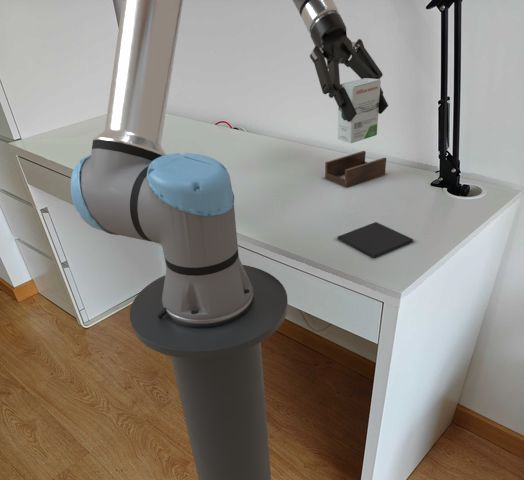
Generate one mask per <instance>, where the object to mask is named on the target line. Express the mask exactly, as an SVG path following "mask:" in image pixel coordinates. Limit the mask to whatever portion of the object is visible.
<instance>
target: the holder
mask: <svg viewBox="0 0 524 480" xmlns="http://www.w3.org/2000/svg"><path fill="white" fill-rule="evenodd" d="M366 153H367V152H366V150H362V151H359V152H354V153H351V154H348V155H345V156H341V157H337V158H334V159H331V160H328V161H325V163H324V164H325V165H324V179H326V180H328V181H329V182H333V183H335V184H337V185H340V186H342V187H344V188H350V187H352V186H355V185H358V184H361V183H364V182H368V181H370V180H373V179H376V178H379V177H382V176H385V174H386V167H387V158H386V157H382V158H378V159H375V160H371V161H366ZM341 175H344V178H343V177H341Z"/></svg>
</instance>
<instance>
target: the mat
mask: <svg viewBox="0 0 524 480" xmlns="http://www.w3.org/2000/svg"><path fill="white" fill-rule="evenodd" d="M337 240H338V241H340V242H342V243H344V244H346V245H347V246H350V247H352V248H354V249H356V250H357V251H359V252H361V253H363V254H365V255H367V256H369V257H370V258H372V259H376V258H378V257H380V256H383V255H385V254H387V253H390V252H392V251H394V250H397V249H399V248H401V247H404V246H407V245H409V244H411V243H413V241H414V238H412V237H409V236H407V235H405V234H403V233H400V232H398V231H396V230H394V229H392V228H390V227H388V226H386V225H383V224H381V223H379V222H377V221H374V222H371V223H370V224H367V225H364V226H362V227H358V228H357V229H354V230H351V231H348V232H346V233H342V234H341V235H337Z"/></svg>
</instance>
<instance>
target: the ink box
mask: <svg viewBox="0 0 524 480" xmlns="http://www.w3.org/2000/svg"><path fill="white" fill-rule="evenodd" d="M381 82H382V81H381V80H380V79H371V78H364V79H361V78H360V79H355V80H352V81H348V82H347V81H346V82H344V83H340V89H341V88H342V87H344V88H345V90H346V92H347V94H348V96H349V98H350V100H351V102H352V104H353V106H354V108H355V111H356V113H357V114H356V115H355V117H354V118H353V119H352V120H351V121H350V122H348V121H347V119H346V117H345V115H344V113H343V111H342V109H341V107H339V106H338V111H337V140H339V141H343V142H346V143H349V144H354V143H357V142H360V141H363V140H366V139H369V138H372V137H375V136H377V135H378V124H379V113H378V111H379V98H380V87H381V84H382V83H381Z"/></svg>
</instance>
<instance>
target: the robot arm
mask: <svg viewBox="0 0 524 480" xmlns="http://www.w3.org/2000/svg"><path fill="white" fill-rule="evenodd" d="M292 2H293V4H294V7H296V9H297V11H298V13H299V15H300V18H301V21H302V22H303V23H304V24H303V25H305V29H306V30H307V32H308V33H309V35H310V38H311V40H312V43H313V44H314V48H313V49H312V50H311V53H310V54H309V58H310V60H311V61H312V63H313V64H314V68H315V71H316V75H317V78H318V81H319V86H320V89H321V92H322V94H323V95H328V97H329V98H330V99H332V98H334V101H335V103H336V105H337V107H338V108H339V107H341V109H342V111H343V113H344V115H345V117H346V119H347V121H348V122H350V121H351V120H352V119H353V118H354V117H355V115H356V114H357V113H356V111H355V108H354V106H353V104H352V102H351V100H350V98H349V96H348V94H347V92H346V90H345V88H344V87H342V88H341V89H340V84H341V77H340V64H341V65H344V66H345V67H347V68H350V69H351V70H352V71H353V72H354V73H355V75H357V76H358V77H359V78H360V79H364V78H371V79H379V80H380V79H381V78H382V77H383V76H384V74H383V72H382V71H381V69H380V68H379V67H378V65H377V63H376V62H375V60H374V59H373V57H372V56H371V55H370V53H369V52H368V50H367V49H366V47H365V45H364V42H363V39H361V38H358V39H357V40H356V41H352V40H351V39H350V38H349V37H348V35H347V26H346V24H345V22H344V20H343V18H342V15H341V14H340V13H339V9H338V8H337V5H336V4H335V1H334V0H292ZM121 4H122V5H121V10H120V16H119V23H118V31H117V39H116V44H115V45H116V47H115V53H114V61H113V69H112V74H111V75H112V76H111V81H110V90H109V96H108V105H107V113H106V119H105V125H104V129H103V131H102V132H101V133H99V134H98V135H96V136H95V137H93V138H92V145H91V151H90V152H91V153H90V154H89V155H87V156H85V157H83V158H80V160H79V163H76V164H75V166H74V167H73V169H72V172H71V176H70V195H71V199H72V203H73V205H74V208H75V210H76V212H78V214H79V215H80V218H81V219H82V220H83V221H84V222H85V223H86V224H87V225H88V226H89V227H92V228H93V229H96V230H99V231H101V232H105V233H106V234H109V235H114V236H122V237H126V238H127V237H128V238H131V239H137V240H141V241H146V242H151V243H156V244H160V245H161V248H162V253H163V256H164V257H163V258H164V260H165V261H164V262H165V266H166V267H165V268H166V269H165V274H164V275H165V281H164V288H163V294H162V303H163V309H162V310H161V311H160V312H159V313H158V314H157V315H156V316H157V317H158V318H159V319H161V318H162V317H163V316H164V315H165V314H166V316H167V317H168V318H169V319H170V320H171V321H173V322H175V323H177V324H179V325H182V326H185V327H191V328H212V327H218V326H222V325H225V324H228V323H231V322H233V321H235V320H237V319H239V318H241V317H242V316H243V315H245V314H246V313H247V312H248V311H249V310H250V308H251V307H252V305H253V301H254V297H253V288H252V285H251V282H250V280H249V278H248V276H247V274H246V272H245V270H244V267H243V265H244V264H243V263H242V261H241V259H240V256H239V255H240V254H239V246H238V244H239V243H238V234H237V223H236V214H235V213H236V212H235V193H234V191H233V187H232V181H231V176H230V173H229V171H228V169H227V168H226V167H225V165H224V164H223V163H221V162H220V161H219V160H217V159H215V158H213V157H211V156H207V155H204V154H199V153H193V152H186V153H182V154H181V153H179V152H178V153H168V154H167V153H166V152H165V150H164V148H163V146H162V138H163V133H164V127H165V126H164V124H165V119H166V113H167V108H168V107H167V105H168V100H169V94H170V89H171V82H172V81H171V80H172V74H173V67H174V63H175V57H176V55H175V54H176V49H177V43H178V36H179V29H180V25H181V18H182V17H181V16H182V11H183V5H184V0H122V3H121ZM388 107H389V104H388V102H387V99H386V98H385V96H384V90H383V89H382V87H381V86H380V98H379V111H378V115H380V114H381V115H382V114H383V113H384V112H385V110H386V109H387V108H388Z"/></svg>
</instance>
